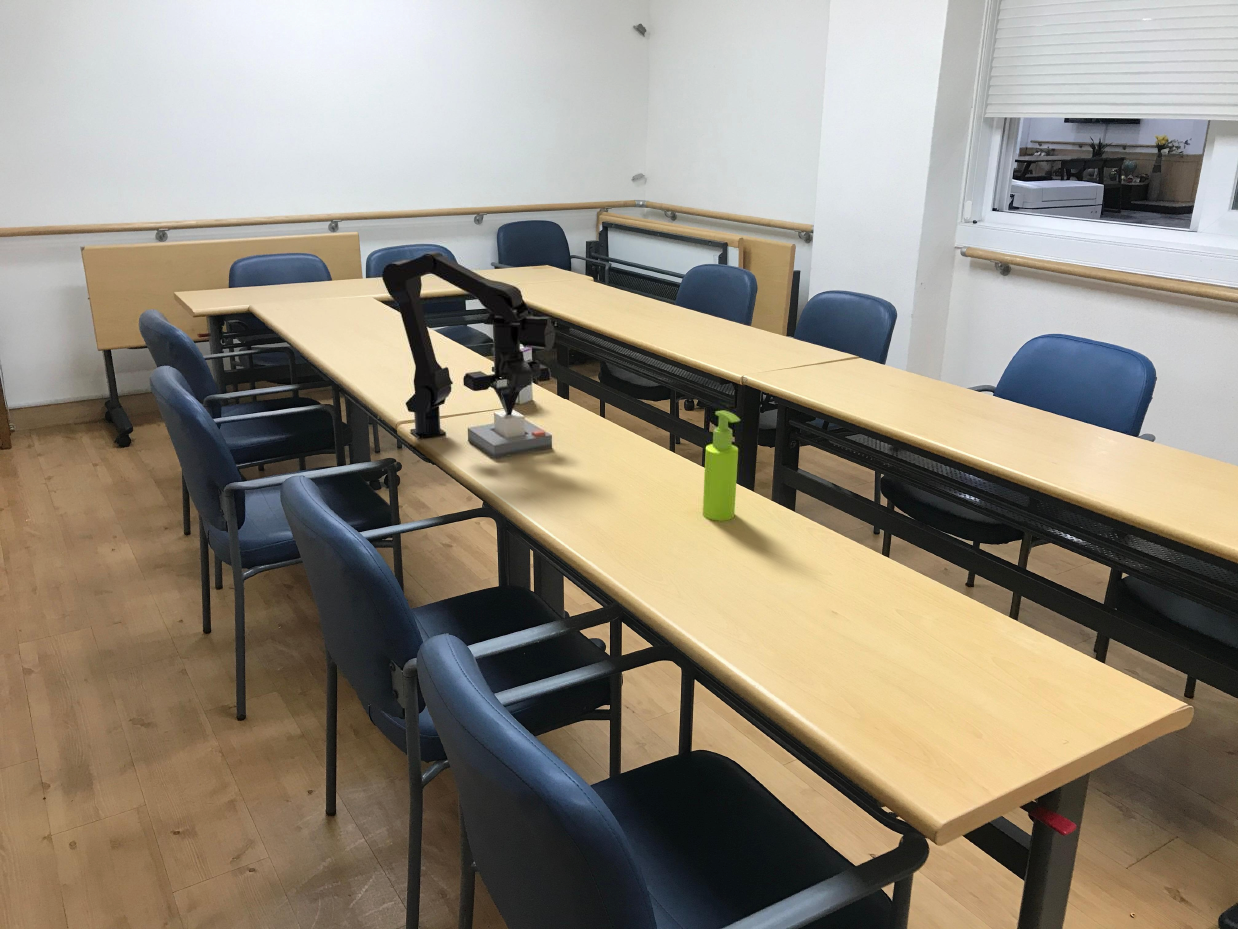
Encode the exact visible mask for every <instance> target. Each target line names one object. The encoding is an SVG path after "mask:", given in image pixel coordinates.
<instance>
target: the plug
mask: <svg viewBox="0 0 1238 929" xmlns="http://www.w3.org/2000/svg"><path fill="white" fill-rule="evenodd" d="M525 420H526V419H525V415H523V414H521V413H520V412H518V411H516V410H515V409H513V411H512V414H511V415H507V414H506V413H505V410H499V411H493V423H494V430H495V432H496V433H498V434H499V435H500V436H501V437H504V438H509V437H515V436H520V435H525Z"/></svg>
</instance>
